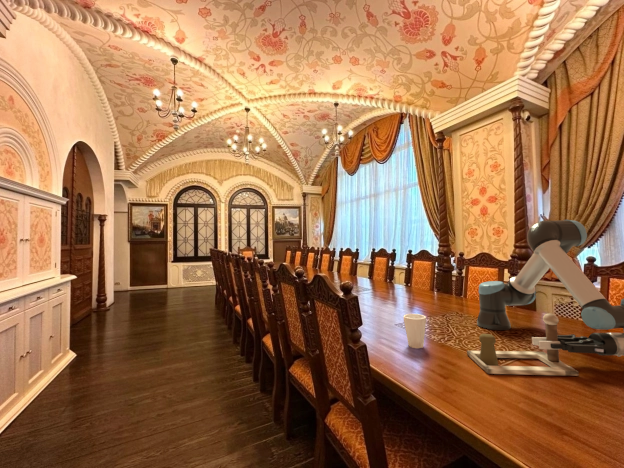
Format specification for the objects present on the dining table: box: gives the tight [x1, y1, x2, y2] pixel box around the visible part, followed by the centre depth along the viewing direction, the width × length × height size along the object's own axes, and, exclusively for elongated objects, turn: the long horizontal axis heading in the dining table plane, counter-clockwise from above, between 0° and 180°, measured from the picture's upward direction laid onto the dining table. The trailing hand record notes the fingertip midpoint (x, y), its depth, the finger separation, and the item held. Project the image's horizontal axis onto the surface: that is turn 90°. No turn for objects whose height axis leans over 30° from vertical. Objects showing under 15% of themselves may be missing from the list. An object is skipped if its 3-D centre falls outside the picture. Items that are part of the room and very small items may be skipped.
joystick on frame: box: [466, 313, 580, 377], centre depth 103 cm, size 28×17×18 cm, turn 83°
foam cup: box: [403, 313, 427, 349], centre depth 126 cm, size 10×9×13 cm
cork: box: [478, 333, 499, 366], centre depth 104 cm, size 6×6×11 cm
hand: (536, 343), depth 103 cm, fingers closed on joystick on frame, 3 cm apart
